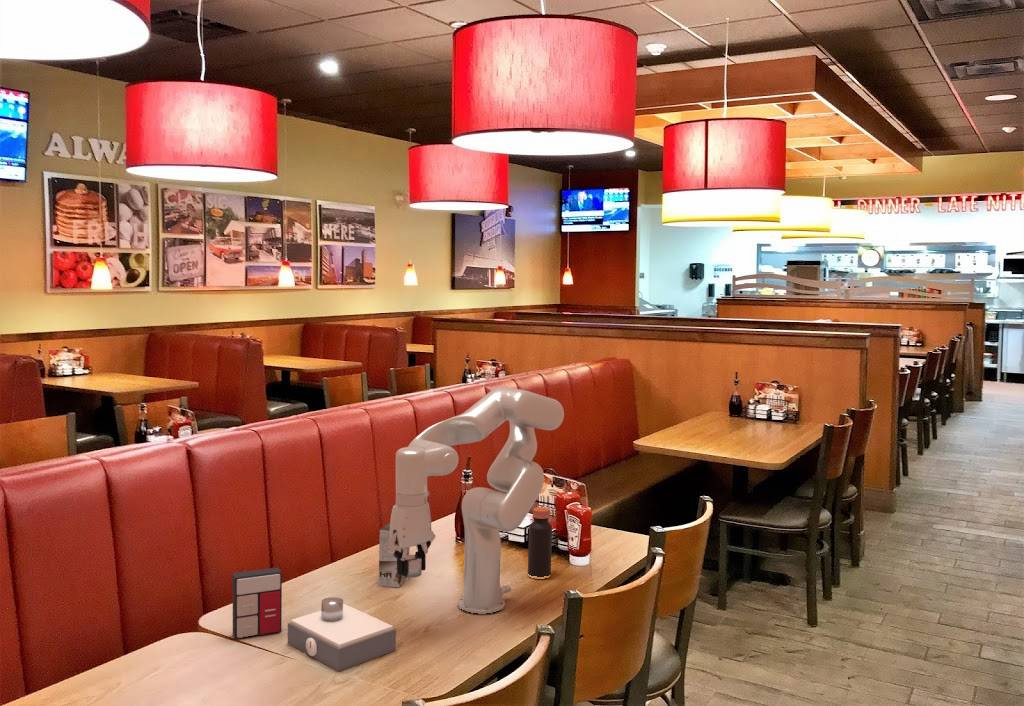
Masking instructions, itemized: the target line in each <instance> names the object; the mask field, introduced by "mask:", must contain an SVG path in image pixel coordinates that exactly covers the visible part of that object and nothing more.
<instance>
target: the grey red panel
mask: <svg viewBox="0 0 1024 706" xmlns="http://www.w3.org/2000/svg"><path fill="white" fill-rule="evenodd" d="M282 574H283V573H282V571H281V569H280V568H279V567H270V568H263V569H256V570H248V571H240V572H234V573H232V575H231V576H232V577H231V578H232V579H231V580H232V581H231V585H232V587H231V589H232V591H231V592H232V636H233V638H234V639H235V638H241V637H247V636H253V637H255V636H254V635H259V636H263V634H265V635H271V634H270V633H272V634H277V633H276V632H278V633H281V632H282V614H283V613H282V611H283V609H282V603H283V602H282V600H283V599H282V596H283V591H282V590H283V587H282V585H283V583H282V582H283V575H282ZM247 638H248V637H247ZM241 639H242V638H241Z"/></svg>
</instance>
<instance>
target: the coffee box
mask: <svg viewBox="0 0 1024 706" xmlns="http://www.w3.org/2000/svg"><path fill="white" fill-rule="evenodd" d="M389 530H390V522H388V523H387V524H385V525H384V526H383V527H381V528H380V529H379V543H378V544H379V550H378V553H379V554H378V586H382V587H390V588H396V587H398V588H400V587H402V585H403V584H404V583H406V581H407V580H408V579H407V577H403V576H401V575H399V574H398V573H397V558H395V556H393V555H392V554H391V553H390V552H389V551H387V550H386V547H387V545H388V544H389ZM396 547H397V545H395V549H396ZM410 549H411V547H409V548H408V550H407V554H406V555H410ZM400 553H402V549H401V552H400ZM406 579H407V580H406Z"/></svg>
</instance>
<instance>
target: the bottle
mask: <svg viewBox="0 0 1024 706" xmlns="http://www.w3.org/2000/svg"><path fill="white" fill-rule="evenodd" d="M550 512H551V511H550V508H548V507H542V506H540V507H539V506H537V507H534V508H532V519H533V520H532V522H531V523H530V524H529V525H528V552H527V554H528V555H527V558H528V559H527V575H528V574H529V575H531V576H537V577H544V576H549V575H550V574H551V575H552V546H553V541H552V540H553V525H552V524H551V523H550V522H549V519H550Z"/></svg>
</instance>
